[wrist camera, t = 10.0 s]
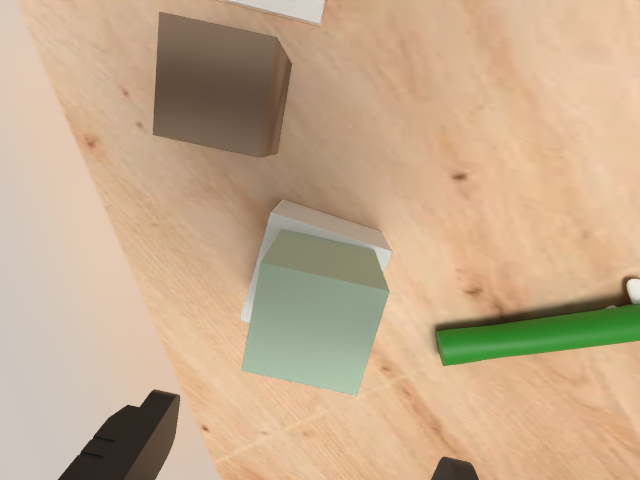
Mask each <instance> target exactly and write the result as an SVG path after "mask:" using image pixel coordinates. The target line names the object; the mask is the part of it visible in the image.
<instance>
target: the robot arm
mask: <svg viewBox="0 0 640 480" xmlns="http://www.w3.org/2000/svg"><path fill="white" fill-rule="evenodd" d="M179 404H180V395H177V394H173V393H169V392H164V391H160V390H153V391H152V392H151V393H150V394H149V395H148V397H147V398H146V399H145V401H144V402H143V403H142V405H141V406H140V407H135V406H130V405H127V406H125V407H124V408H122V409H121V410H119V411H118V412H117V413H115V414H114V415H112V416H111V417H109V418H108V419H107V421H106V422H105V423H104V424H103V425H102V427H101V428H100V429H99V430H98V432H97V433H96V434H95V435H94V437H93V439H92V440H90V441H89V442H88V444H87V445H86V446H85V447H84V448H83V450H82V451H81V453H80V455H78V456H77V457H76V458H75V459H74V461H73V462H72V463H71V464H70V465H69V467H68V468H67V469H66V470H65V472H64V473H63V474H62V475H61V476H60V478H59V479H58V480H155V479H156V477H157V475H158V473H159V471H160V470H161V468H162V466H163V464H164V462H165V460H166V458H167V456H168V454H169V452H170V449H171V447H172V444H173V441H174V438H175V434H176V427H177V419H178V412H179ZM431 480H479V479H478V476H477V474H476V472H475V469H474V467H473V466H472V464H471V463H469V462H466V461H462V460H457V459H453V458H448V457H442V458H441V460H440V461H439V464H438V466H437V468H436V470H435V472H434V474H433V476H432V479H431Z"/></svg>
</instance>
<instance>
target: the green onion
mask: <svg viewBox="0 0 640 480" xmlns="http://www.w3.org/2000/svg"><path fill="white" fill-rule="evenodd" d="M627 291H628V294H629V297H630V299H631V301H630V303H631V305H630V304H627V305H624V306H622V307H616V306H614V305H612V306H609V307H607V308H605V309H602V310H595V311H588V312H581V313H573V314H566V315H559V316H552V317H545V318H538V319H530V320H523V321H516V322H509V323H503V324H496V325H489V326H480V327H468V328H457V329H448V330H441V331H436V337H437V344H438V350H439V354H440V358H441V361H442V364H443V366H448V365H456V364H463V363H470V362H476V361H481V360H487V359H494V358H501V357H510V356H520V355H529V354H537V353H545V352H554V351H562V350H570V349H578V348H586V347H594V346H602V345H610V344H618V343H626V342H633V341H640V280H639V279H630V280H629V281H628V282H627Z"/></svg>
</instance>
